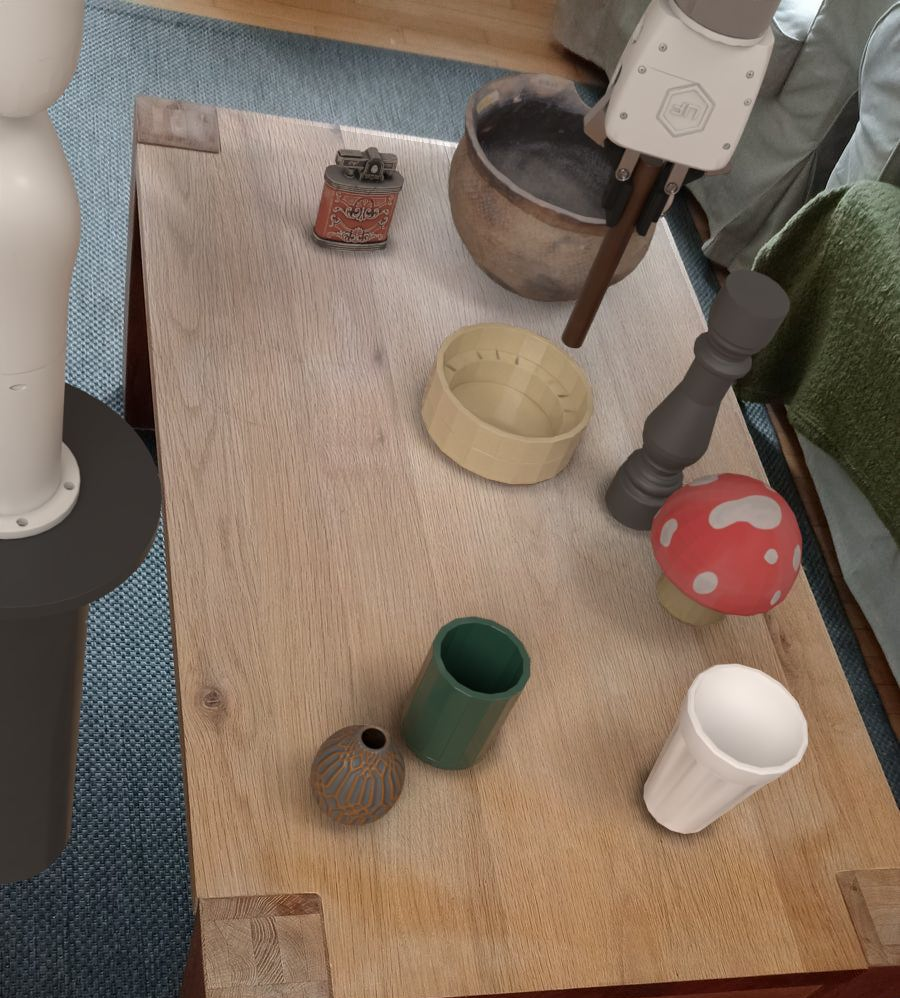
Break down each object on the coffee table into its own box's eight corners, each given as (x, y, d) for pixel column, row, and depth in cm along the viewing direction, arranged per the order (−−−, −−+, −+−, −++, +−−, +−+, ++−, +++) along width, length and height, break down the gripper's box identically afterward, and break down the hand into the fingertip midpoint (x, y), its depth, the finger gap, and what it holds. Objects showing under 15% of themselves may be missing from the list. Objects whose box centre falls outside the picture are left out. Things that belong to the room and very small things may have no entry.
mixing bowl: (416, 467, 120) (434, 419, 115) (422, 355, 128) (439, 306, 123) (572, 503, 123) (596, 458, 118) (569, 392, 131) (591, 346, 126)
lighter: (381, 231, 135) (405, 143, 127) (390, 253, 134) (415, 166, 126) (306, 227, 132) (326, 137, 124) (315, 250, 131) (335, 160, 123)
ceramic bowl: (650, 275, 145) (710, 153, 133) (574, 375, 133) (633, 250, 120) (480, 174, 145) (524, 42, 133) (388, 263, 133) (427, 128, 121)
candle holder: (677, 515, 126) (807, 306, 106) (637, 540, 123) (764, 330, 102) (632, 473, 127) (752, 258, 107) (592, 496, 124) (708, 280, 104)
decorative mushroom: (641, 675, 114) (718, 565, 102) (594, 556, 120) (661, 438, 108) (769, 667, 119) (857, 561, 107) (718, 553, 125) (796, 439, 113)
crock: (397, 761, 103) (431, 689, 94) (402, 683, 107) (435, 607, 98) (489, 777, 104) (530, 708, 96) (490, 700, 108) (530, 627, 100)
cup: (690, 879, 105) (768, 798, 94) (597, 796, 106) (663, 707, 96) (752, 809, 110) (832, 725, 100) (662, 731, 112) (732, 640, 101)
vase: (284, 803, 98) (307, 740, 91) (335, 745, 102) (360, 680, 95) (359, 856, 97) (388, 797, 90) (408, 795, 101) (438, 734, 94)
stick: (561, 345, 116) (640, 163, 101) (560, 330, 117) (639, 148, 102) (582, 351, 116) (664, 170, 101) (581, 336, 117) (663, 155, 102)
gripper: (620, -12, 87) (532, 224, 103) (834, 56, 91) (717, 275, 106) (616, -69, 91) (531, 167, 107) (821, -2, 95) (710, 218, 110)
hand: (625, 219), depth 106 cm, fingers closed on stick, 2 cm apart
